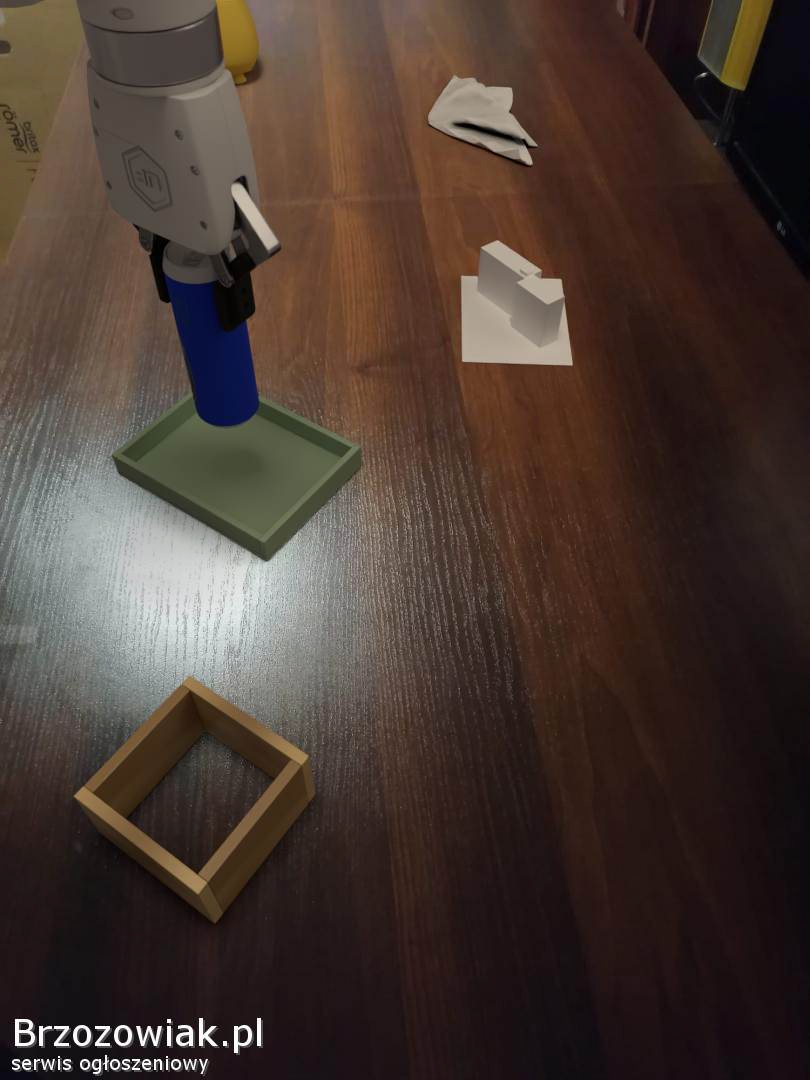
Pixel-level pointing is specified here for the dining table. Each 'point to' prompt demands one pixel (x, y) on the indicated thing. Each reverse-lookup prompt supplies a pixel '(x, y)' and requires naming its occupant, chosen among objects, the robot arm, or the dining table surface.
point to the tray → (240, 471)
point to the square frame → (153, 758)
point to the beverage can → (210, 341)
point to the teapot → (237, 37)
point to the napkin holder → (513, 312)
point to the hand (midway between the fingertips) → (207, 305)
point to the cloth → (481, 118)
